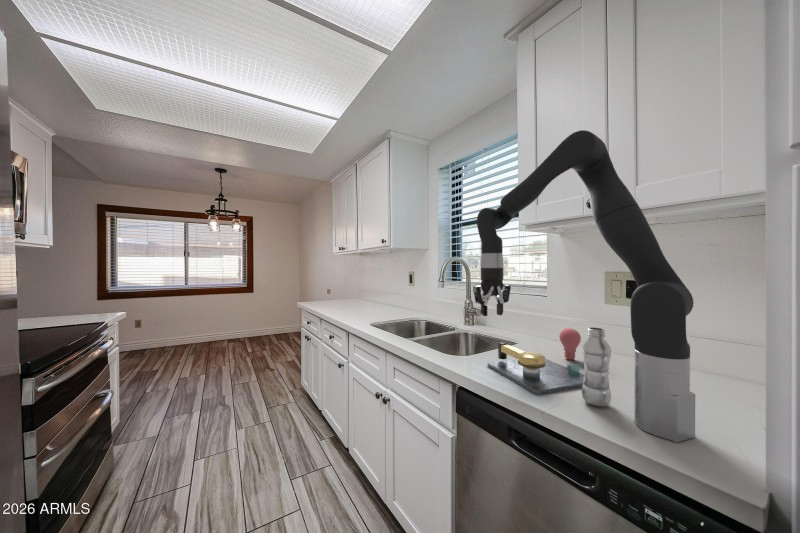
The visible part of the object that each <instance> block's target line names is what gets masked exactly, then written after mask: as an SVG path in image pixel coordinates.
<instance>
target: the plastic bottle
mask: <svg viewBox="0 0 800 533" xmlns="http://www.w3.org/2000/svg"><path fill="white" fill-rule="evenodd" d="M587 331H588V332H587V336H588V337H587V338H586V340H585V341H584V342H583V344H582V346H581V348H582V350H581V352H582V355H583V365H584V372H583V374H584V383H583V386H582V387H581V396H582V398H583V401H584V402H585V403H587V404H589V405H591V406H595V407H599V408H603V407H608V406H609V404H611V401H612V392H611V388H610V387H611V386H610V379H609V373H610V372H609V371H610V363H611V357H612V349H611V346H610V344H609V343H608V342H607V341H606V340H605V337H606V332H605V329H604V328H602V327H593V326H592V327H588V328H587Z"/></svg>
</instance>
